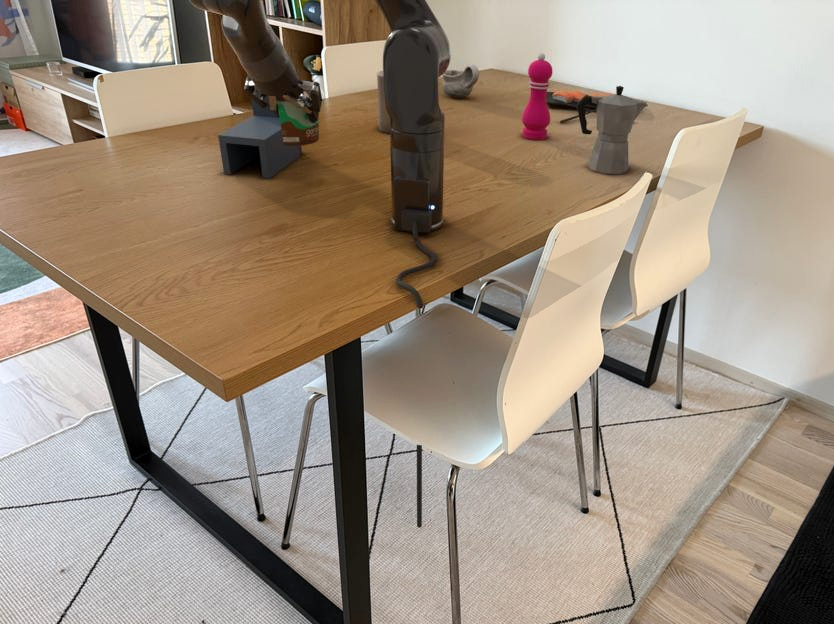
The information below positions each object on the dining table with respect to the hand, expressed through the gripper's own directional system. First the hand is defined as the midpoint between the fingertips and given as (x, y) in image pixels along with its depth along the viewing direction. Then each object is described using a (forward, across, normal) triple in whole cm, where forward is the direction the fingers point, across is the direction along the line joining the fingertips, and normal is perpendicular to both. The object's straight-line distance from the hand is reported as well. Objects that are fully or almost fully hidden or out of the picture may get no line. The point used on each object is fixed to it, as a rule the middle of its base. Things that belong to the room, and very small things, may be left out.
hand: (299, 117), depth 134 cm
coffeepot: (+33, -59, -12) cm, 68 cm away
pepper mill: (+47, -41, -28) cm, 68 cm away
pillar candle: (+44, -6, -24) cm, 50 cm away
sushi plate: (+69, -53, -50) cm, 100 cm away
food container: (+5, 0, +2) cm, 5 cm away
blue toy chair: (+18, +14, +1) cm, 23 cm away
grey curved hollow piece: (+72, -15, -54) cm, 91 cm away
